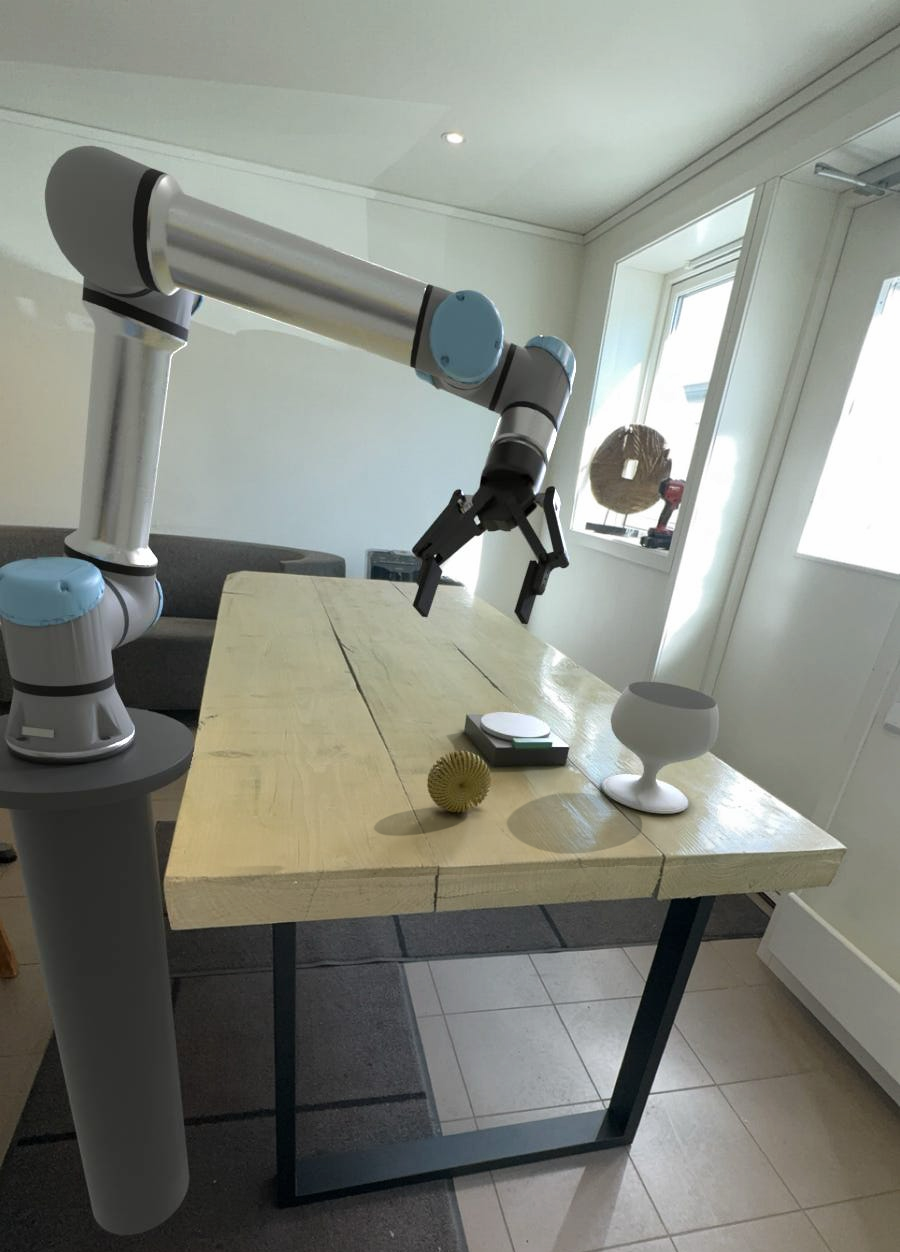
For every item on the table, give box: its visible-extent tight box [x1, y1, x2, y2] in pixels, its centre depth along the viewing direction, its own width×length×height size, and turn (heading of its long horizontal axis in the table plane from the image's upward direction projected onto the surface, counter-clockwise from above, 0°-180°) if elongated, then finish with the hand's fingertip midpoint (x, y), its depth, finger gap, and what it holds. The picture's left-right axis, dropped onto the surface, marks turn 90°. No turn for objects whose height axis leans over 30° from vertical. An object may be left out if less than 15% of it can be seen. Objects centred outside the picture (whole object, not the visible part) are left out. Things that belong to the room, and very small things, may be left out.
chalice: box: [601, 681, 720, 814], centre depth 90 cm, size 14×14×15 cm
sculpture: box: [426, 750, 492, 813], centre depth 81 cm, size 8×4×8 cm, turn 102°
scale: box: [463, 711, 570, 767], centre depth 104 cm, size 14×12×4 cm
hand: (468, 614), depth 78 cm, fingers open, 13 cm apart
